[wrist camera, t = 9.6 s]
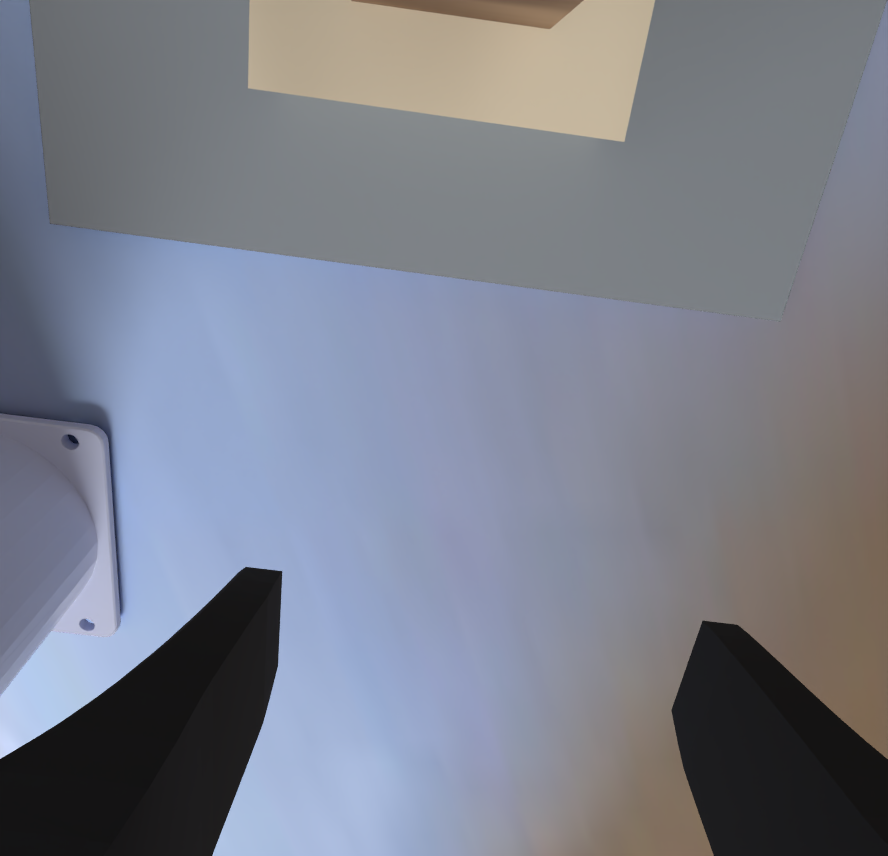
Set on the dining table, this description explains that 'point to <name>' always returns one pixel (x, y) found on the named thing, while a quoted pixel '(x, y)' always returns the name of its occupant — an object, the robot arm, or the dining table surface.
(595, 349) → the dining table surface
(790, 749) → the robot arm
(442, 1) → the walnut block
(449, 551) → the dining table surface
